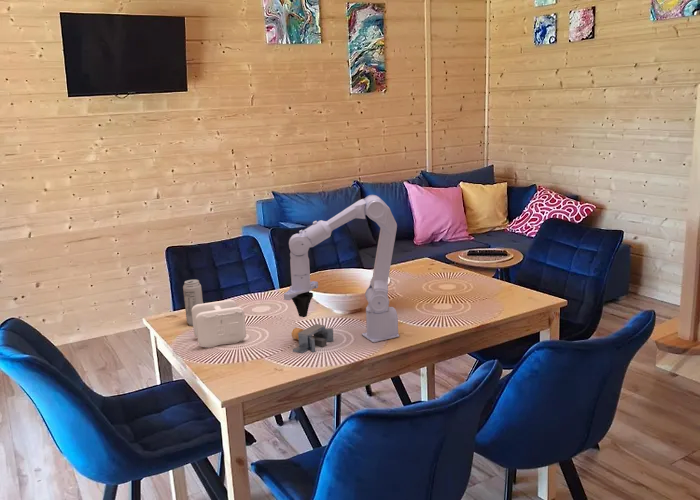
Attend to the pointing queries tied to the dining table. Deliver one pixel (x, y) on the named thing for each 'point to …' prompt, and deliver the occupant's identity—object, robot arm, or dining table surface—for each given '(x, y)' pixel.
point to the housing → (308, 341)
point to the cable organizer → (218, 323)
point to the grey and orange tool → (318, 341)
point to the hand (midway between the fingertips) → (302, 316)
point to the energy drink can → (192, 297)
